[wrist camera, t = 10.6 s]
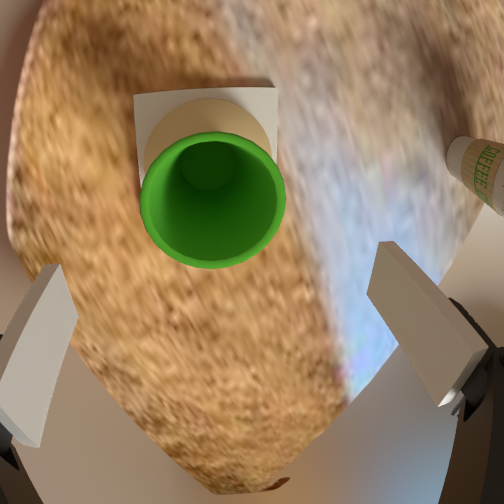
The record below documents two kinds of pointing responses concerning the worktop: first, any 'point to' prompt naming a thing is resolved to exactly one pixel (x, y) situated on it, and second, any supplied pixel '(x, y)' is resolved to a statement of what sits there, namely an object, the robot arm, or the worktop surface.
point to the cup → (212, 200)
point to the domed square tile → (204, 118)
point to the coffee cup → (479, 168)
